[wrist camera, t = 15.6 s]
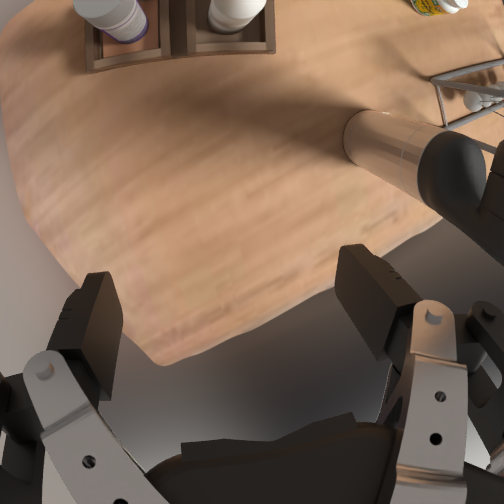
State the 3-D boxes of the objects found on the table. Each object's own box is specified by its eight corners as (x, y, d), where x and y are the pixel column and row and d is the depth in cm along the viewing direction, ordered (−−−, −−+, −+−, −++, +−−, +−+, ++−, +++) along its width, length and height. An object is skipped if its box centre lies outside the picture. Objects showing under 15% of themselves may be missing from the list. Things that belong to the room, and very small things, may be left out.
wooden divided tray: (270, -10, 29) (299, -39, 19) (272, 54, 34) (303, 42, 24) (88, 8, 25) (57, -15, 15) (89, 74, 30) (55, 70, 20)
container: (108, 20, 26) (67, -14, 13) (143, 6, 26) (121, -38, 13) (117, 50, 28) (77, 29, 16) (153, 35, 28) (133, 3, 16)
